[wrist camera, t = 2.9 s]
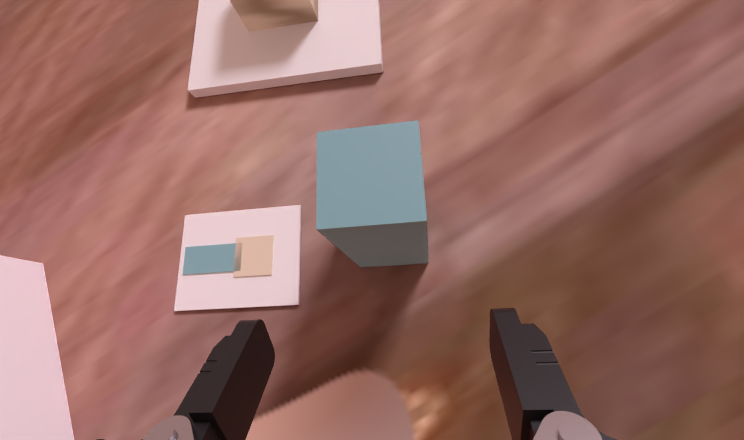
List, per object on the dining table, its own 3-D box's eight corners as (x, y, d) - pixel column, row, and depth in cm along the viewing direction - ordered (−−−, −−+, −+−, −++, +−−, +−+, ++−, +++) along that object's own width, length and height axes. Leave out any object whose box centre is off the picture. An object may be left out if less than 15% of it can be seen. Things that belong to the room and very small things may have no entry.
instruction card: (301, 205, 26) (299, 204, 26) (299, 304, 24) (297, 304, 24) (187, 215, 27) (184, 214, 27) (176, 310, 25) (173, 310, 25)
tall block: (422, 198, 25) (418, 120, 16) (428, 263, 24) (427, 220, 14) (358, 204, 26) (317, 132, 16) (360, 267, 24) (316, 229, 15)
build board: (375, -76, 33) (373, -88, 32) (383, 72, 28) (381, 63, 27) (212, -44, 35) (206, -55, 34) (195, 97, 31) (187, 90, 30)
